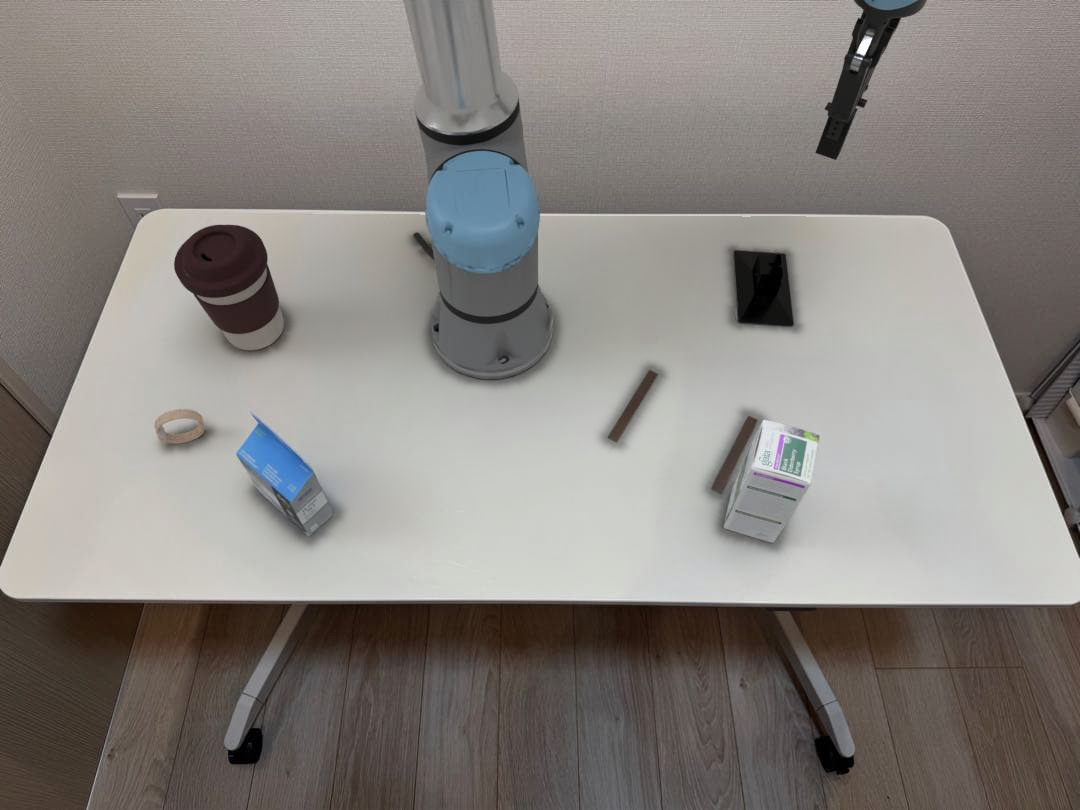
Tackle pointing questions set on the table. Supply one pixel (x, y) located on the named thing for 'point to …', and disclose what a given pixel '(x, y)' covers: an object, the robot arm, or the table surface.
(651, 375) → the strips
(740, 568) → the table surface
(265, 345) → the coffee cup
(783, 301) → the build plate
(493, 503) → the table surface
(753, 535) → the syrup box
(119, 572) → the table surface
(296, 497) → the label tape box
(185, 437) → the beige hollow ring
